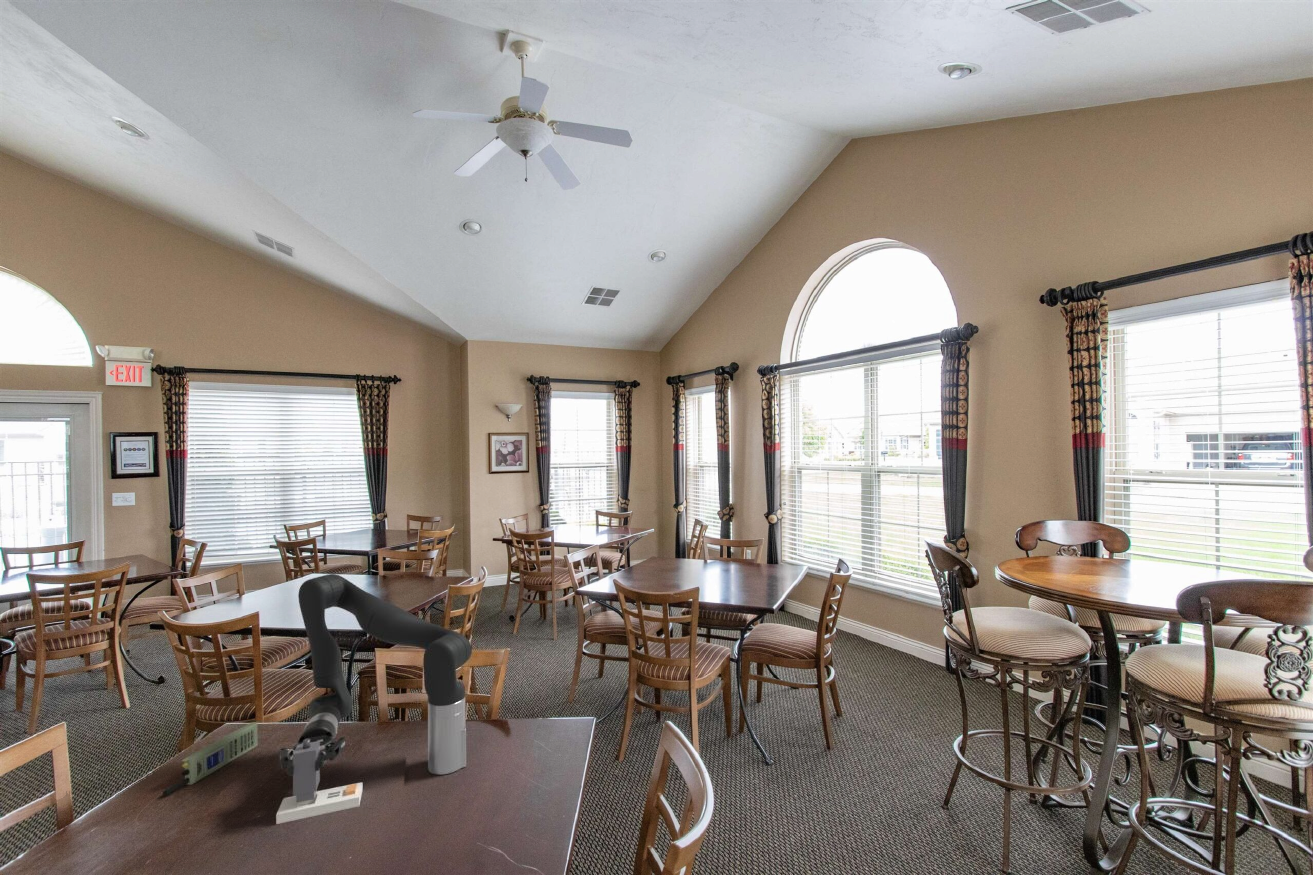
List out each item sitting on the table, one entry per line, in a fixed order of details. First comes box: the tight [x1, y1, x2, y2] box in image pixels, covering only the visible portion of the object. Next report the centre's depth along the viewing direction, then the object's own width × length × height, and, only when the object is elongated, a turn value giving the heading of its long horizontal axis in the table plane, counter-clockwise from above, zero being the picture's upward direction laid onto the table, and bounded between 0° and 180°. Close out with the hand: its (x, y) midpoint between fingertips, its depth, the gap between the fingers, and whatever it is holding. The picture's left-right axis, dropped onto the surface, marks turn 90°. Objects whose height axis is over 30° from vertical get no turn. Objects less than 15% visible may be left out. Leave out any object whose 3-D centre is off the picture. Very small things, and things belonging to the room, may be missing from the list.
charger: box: [292, 739, 321, 803], centre depth 127 cm, size 4×4×12 cm
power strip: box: [275, 782, 363, 825], centre depth 129 cm, size 22×6×4 cm, turn 112°
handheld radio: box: [162, 722, 259, 797], centre depth 147 cm, size 7×3×25 cm
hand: (304, 769), depth 124 cm, fingers closed on charger, 4 cm apart
